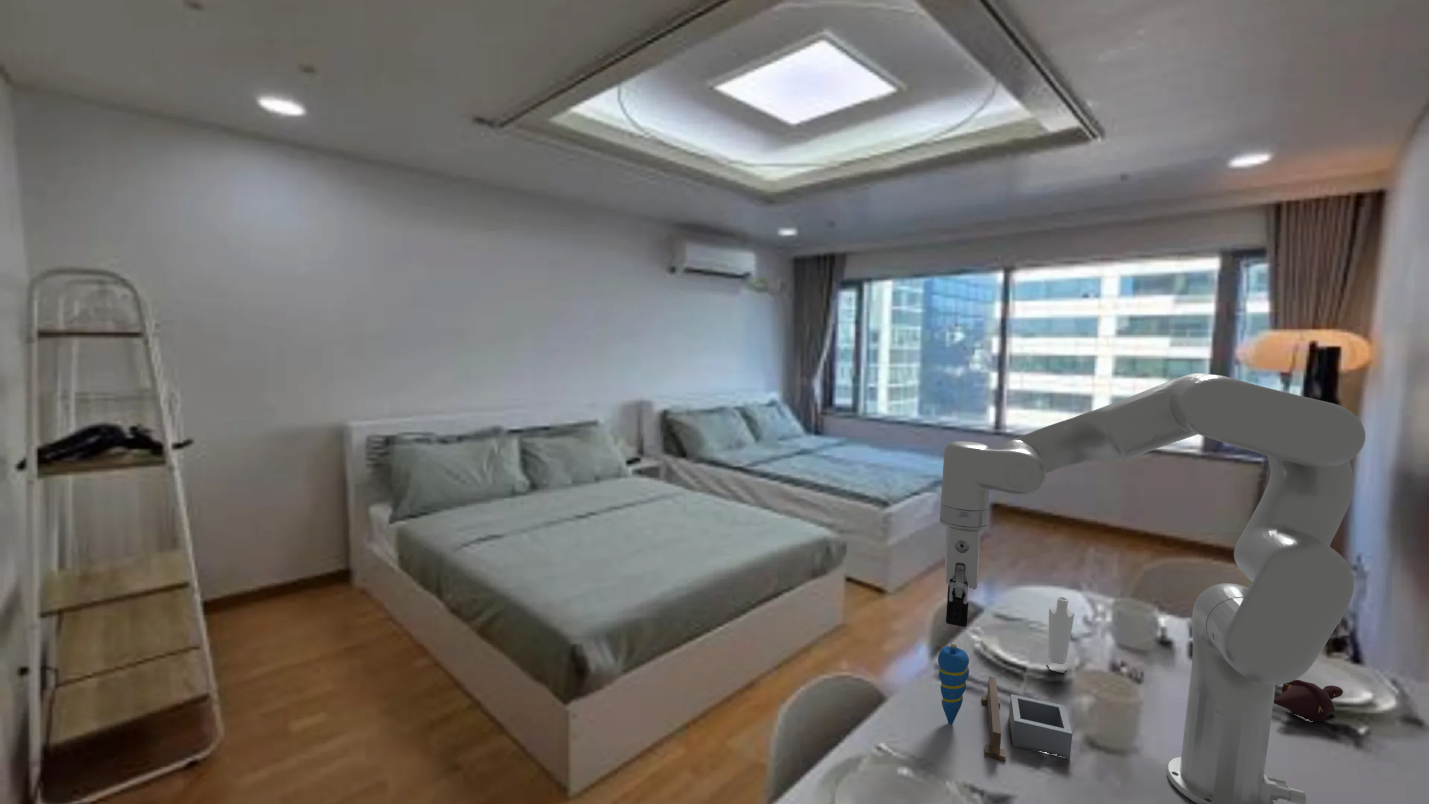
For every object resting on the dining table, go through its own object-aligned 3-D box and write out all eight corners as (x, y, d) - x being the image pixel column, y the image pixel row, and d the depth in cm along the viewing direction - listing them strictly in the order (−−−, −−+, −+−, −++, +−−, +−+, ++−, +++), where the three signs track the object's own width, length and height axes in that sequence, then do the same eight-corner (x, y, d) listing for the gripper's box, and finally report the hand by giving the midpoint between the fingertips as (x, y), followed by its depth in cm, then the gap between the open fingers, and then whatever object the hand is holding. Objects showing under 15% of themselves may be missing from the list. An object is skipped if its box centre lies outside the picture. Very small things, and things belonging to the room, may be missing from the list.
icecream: (1305, 702, 107) (1368, 701, 110) (1262, 670, 114) (1322, 670, 117) (1286, 733, 109) (1348, 730, 113) (1245, 700, 116) (1305, 698, 119)
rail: (999, 701, 116) (1001, 678, 115) (1005, 761, 99) (1007, 735, 98) (981, 697, 117) (983, 675, 116) (984, 756, 100) (986, 730, 100)
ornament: (967, 734, 106) (974, 650, 104) (936, 730, 107) (941, 646, 105) (962, 716, 111) (968, 636, 109) (931, 712, 112) (937, 632, 110)
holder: (1062, 730, 108) (1064, 705, 107) (1069, 760, 100) (1072, 733, 99) (1008, 717, 111) (1010, 694, 110) (1012, 746, 103) (1014, 720, 102)
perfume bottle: (1038, 665, 129) (1044, 596, 128) (1052, 661, 131) (1059, 593, 129) (1058, 676, 125) (1065, 605, 124) (1073, 672, 127) (1079, 601, 125)
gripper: (989, 533, 95) (981, 639, 97) (986, 506, 111) (978, 597, 113) (938, 526, 98) (930, 629, 100) (941, 500, 114) (935, 590, 116)
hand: (956, 612), depth 107 cm, fingers open, 9 cm apart
